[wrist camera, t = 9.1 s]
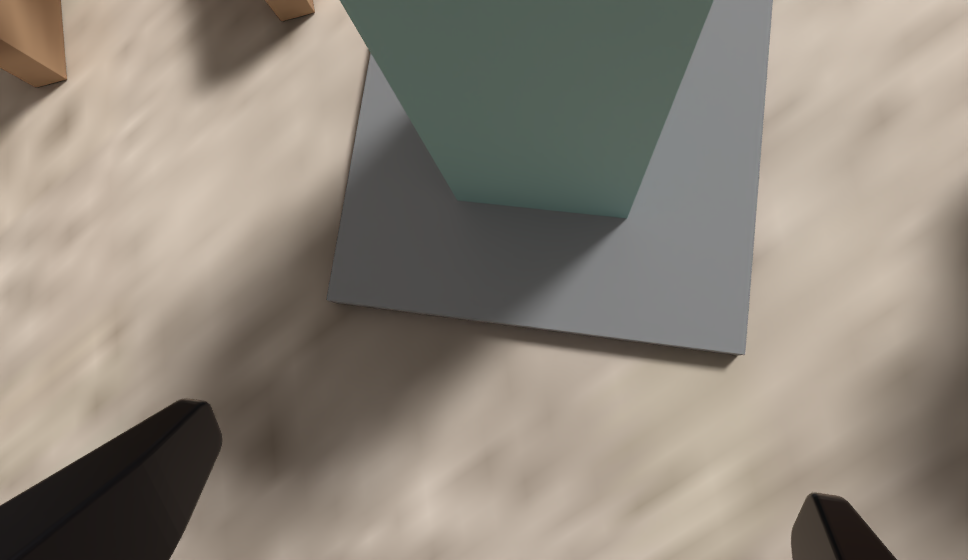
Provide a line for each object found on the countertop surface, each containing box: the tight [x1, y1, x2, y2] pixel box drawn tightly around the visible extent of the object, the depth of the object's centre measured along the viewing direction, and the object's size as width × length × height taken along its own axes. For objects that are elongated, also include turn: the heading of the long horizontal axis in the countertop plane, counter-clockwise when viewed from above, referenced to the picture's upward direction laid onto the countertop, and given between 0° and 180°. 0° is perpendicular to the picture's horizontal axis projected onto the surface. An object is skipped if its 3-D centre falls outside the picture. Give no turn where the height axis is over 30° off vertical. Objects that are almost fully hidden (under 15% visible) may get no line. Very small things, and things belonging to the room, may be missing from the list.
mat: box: [326, 0, 773, 355], centre depth 19 cm, size 12×12×1 cm
